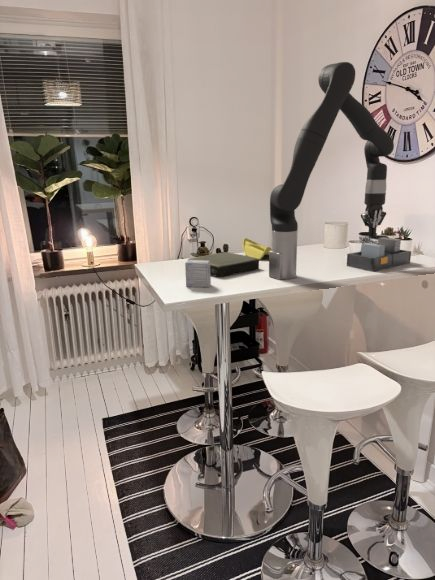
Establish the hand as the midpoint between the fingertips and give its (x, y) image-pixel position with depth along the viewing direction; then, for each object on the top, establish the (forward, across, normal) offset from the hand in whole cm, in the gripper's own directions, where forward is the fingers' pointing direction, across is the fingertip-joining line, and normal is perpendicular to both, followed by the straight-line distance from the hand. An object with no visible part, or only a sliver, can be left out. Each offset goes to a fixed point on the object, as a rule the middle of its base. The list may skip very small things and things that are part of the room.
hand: (371, 236), depth 168 cm
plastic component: (+12, -21, +45) cm, 51 cm away
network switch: (+12, -49, +32) cm, 60 cm away
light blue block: (+11, 0, -1) cm, 11 cm away
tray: (+12, +6, 0) cm, 13 cm away
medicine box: (+12, -70, +16) cm, 73 cm away
